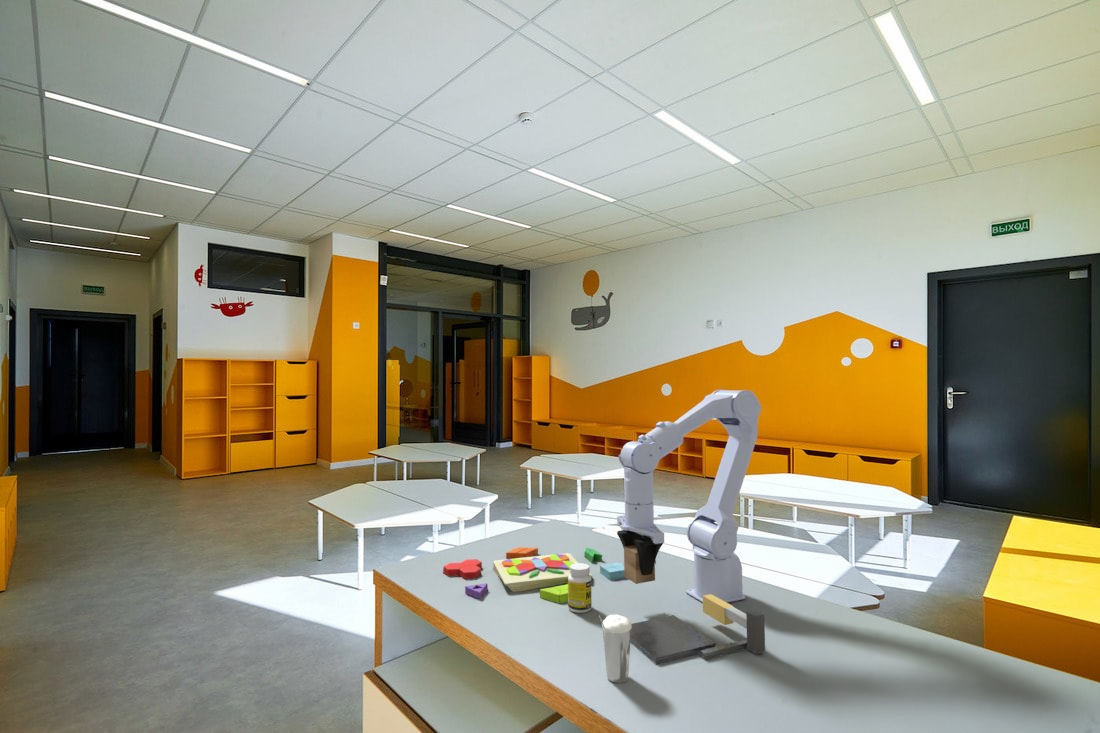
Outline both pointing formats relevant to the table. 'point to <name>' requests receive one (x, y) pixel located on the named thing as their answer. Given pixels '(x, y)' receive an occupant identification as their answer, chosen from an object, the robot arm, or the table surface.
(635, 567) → the brown rectangular block
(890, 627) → the table surface
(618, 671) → the milkshake
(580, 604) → the supplement bottle
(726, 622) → the lever with yellow grip
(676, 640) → the press base
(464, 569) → the pattern blocks set
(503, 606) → the table surface
